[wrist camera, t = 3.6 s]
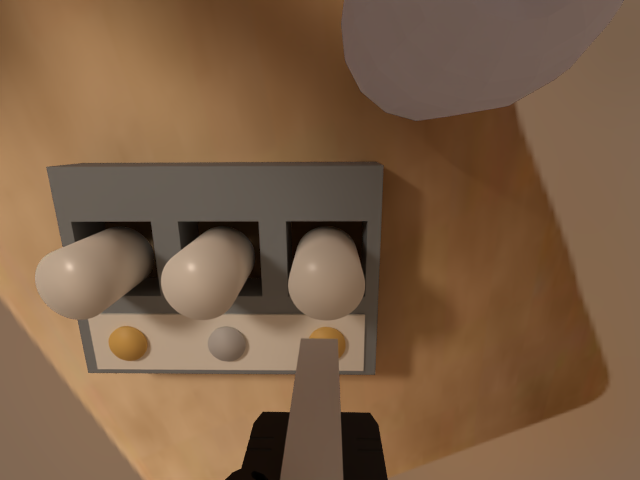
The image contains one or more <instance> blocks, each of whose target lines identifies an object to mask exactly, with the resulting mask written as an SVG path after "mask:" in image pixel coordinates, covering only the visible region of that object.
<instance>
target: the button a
mask: <svg viewBox="0 0 640 480" xmlns="http://www.w3.org/2000/svg"><path fill="white" fill-rule="evenodd" d="M153 266H154V253H153V249H152V247H151V245H150V243H149V242H148V240H147V239H146V238H145V237H144V236H143V235H142V234H140V233H139V232H137V231H136V230H134V229H131V228H128V227H123V226H116V227H111V228H108V229H106V230H103V231H101V232H99V233H96V234H94V235H91V236H89V237H87V238H84V239H82V240H79V241H77V242H75V243H72V244H70V245H67V246H65V247H63V248H60V249H58V250H55V251H53V252H51V253H49V254H47V255H46V256H45V257H44V258H43V259H42V260H41V261H40V262H39V264H38V266H37V269H36V273H35V283H36V287H37V290H38V293H39V295H40V296H41V298H42V300H43V301H44V302H45V303H46V304H47V306H48V307H50V308H51V309H52V310H53V311H55V312H56V313H58V314H60V315H62V316H64V317H67V318H70V319H76V320H85V319H90V318H93V317H95V316H97V315H99V314H100V313H102V312H103V311H104V310H106V309H107V308H108V307H109V306H111V305H112V304H113V303H115V302H116V301H117V300H118V299H120V298H121V297H122V296H124V295H125V294H126V293H127V292H129V291H130V290H131V289H133V288H134V287H135V286H136V285H138V284H139V283H140V282H142V281H143V280H144V279H145V278H147V277H148V276H149V274H150V273H151V271H152V269H153Z"/></svg>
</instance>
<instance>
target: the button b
mask: <svg viewBox="0 0 640 480" xmlns="http://www.w3.org/2000/svg"><path fill="white" fill-rule="evenodd" d="M254 264H255V251H254V248H253V245H252V243H251V242H250V240H249V239H248V238H247V236H246V235H244V234H243V233H242V232H240V231H239V230H237V229H235V228H232V227H227V226H218V227H214V228H211V229H209V230H207V231H205V232H204V233H203V234H201V235H200V236H199V237H198V238H196V239H195V240H194V241H192V242H191V243H190V244H188V245H187V246H186V247H185V248H183V249H182V250H181V251H179V252H178V253H177V254H176V255H174V256H173V257H172V258H171V259H170V260H169V261H168V262H167V263H166V265H165V267H164V269H163V271H162V275H161V287H162V291H163V294H164V296H165V298H166V300H167V301H168V303H169V304H170V305H171V307H172V308H174V309H175V310H176V311H177V312H179V313H180V314H182V315H184V316H186V317H188V318H191V319H196V320H210V319H214V318H217V317H219V316H221V315H223V314H224V313H225V312H227V311H228V310H229V309H230V308H231V306H232V305H233V303H234V301H235V300H236V298H237V296H238V294H239V292H240V291H241V289H242V287H243V285H244V284H245V282H246V280H247V278H248V276H249V275H250V273H251V271H252V269H253V267H254Z"/></svg>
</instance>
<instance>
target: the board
mask: <svg viewBox="0 0 640 480" xmlns="http://www.w3.org/2000/svg"><path fill="white" fill-rule="evenodd" d="M383 167H384V165H382V164H380V163H378V162H220V163H79V164H70V165H60V166H50V167H46V168H47V172H48V177H49V182H50V187H51V192H52V197H53V202H54V207H55V212H56V217H57V221H58V226H59V231H60V236H61V241H62V246H63V247H65V246H67V245H70V244H72V243H75V242H77V241H79V240H82V239H84V238H87V237H89V236H91V235H94V234H96V233H99V232H101V231H103V230H106V228H105V222H138V221H151V226H152V234H153V241H154V249H155V256H156V264H157V271H158V277H147V278H145V279H144V280H143V281H142V282H140V283H139V284H138V285H136V286H135V287H134V288H133V289H131V290H130V291H129V292H127V293H126V294H125V295H124V296H122V297H121V298H120V299H118V300H117V301H116V302H115V303H113V304H112V305H111V306H109V307H108V308H107V309H106V310H104V311H103V312H102V313H100V314H99V315H97V316H95V317H93V318H90V319H85V320H78V324H79V329H80V334H81V339H82V344H83V349H84V354H85V359H86V363H87V368H88V373H187V374H296V368H297V361H298V354H299V347H300V341H301V338H316V339H338V358H339V374H347V375H375V366H376V341H377V316H378V291H379V266H380V242H381V217H382V192H383ZM197 221H259V238H260V257H261V276H262V278H247V280H246V282H245V284H244V285H243V287H242V289H241V291H240V292H239V294H238V296H237V298H236V300H235V301H234V303H233V305H232V306H231V308H230V309H229V310H228V311H227V312H225V313H224V314H223V315H221V316H219V317H217V318H214V319H210V320H196V319H191V318H188V317H186V316H184V315H182V314H180V313H179V312H177V311H176V310H175V309H174V308H172V307H171V305H170V304H169V303H168V301H167V300H166V298H165V296H164V294H163V291H162V287H161V275H162V271H163V269H164V267H165V265H166V263H167V262H168V261H169V260H170V259H171V258H172V257H173V256H174V255H176V254H177V253H178V252H179V251H181V250H182V249H183V248H185V247H186V246H187V245H188V244H190V243H191V242H192V241H194V240H195V239H196V238H198V237H199V233H198V223H197ZM291 221H362V249H361V267H362V271H363V274H364V279H365V291H364V295H363V298H362V300H361V302H360V304H359V305H358V306H357V307H356V309H355V310H354V311H352V312H351V313H350V314H348V315H346V316H345V317H342V318H340V319H336V320H329V321H325V320H317V319H314V318H311V317H309V316H307V315H305V314H304V313H302V312H301V311H300V310H299V309H298V308H297V307H296V306H295V304H294V303H293V301H292V299H291V297H290V294H289V289H288V280H289V275H290V272H291V268H292V232H291Z"/></svg>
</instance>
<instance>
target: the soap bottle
mask: <svg viewBox="0 0 640 480" xmlns="http://www.w3.org/2000/svg"><path fill="white" fill-rule="evenodd" d="M623 1H624V0H344V5H343V13H342V21H341V28H342V37H343V47H344V56H345V62H346V64H347V66H348V68H349V70H350V72H351V74H352V76H353V77H354V79H355V81H356V83H357V85H358V87H359V89H360V91H361V92H362V93H363V94H364V95H365V96H367V97H368V98H369V99H370V100H371V101H373V102H374V103H375V104H376V105H377V106H379V107H380V108H381V109H382V110H383V111H385V112H386V113H389V114H393V115H397V116H400V117H404V118H407V119H411V120H414V121H420V120H427V119H434V118H442V117H449V116H454V115H460V114H466V113H472V112H477V111H483V110H489V109H495V108H500V107H506V106H509V105H511V104H513V103H514V102H516V101H518V100H520V99H522V98H523V97H525V96H527V95H529V94H530V93H532V92H534V91H536V90H537V89H539V88H541V87H542V86H544V85H546V84H548V83H550V82H551V81H553V80H555V79H556V78H557V77H559V76H560V75H561V74H563V73H564V72H565V71H567V70H568V69H569V68H570V67H571V66H572V65H573V64H574V63H575V62H576V61H577V59H578V58H579V57H580V56H581V55H582V54H583V53H584V51H585V50H586V49H587V48H588V47H589V46H590V45H591V43H592V42H593V41H594V40H595V39H596V38H597V37H598V36H599V34H600V33H601V32H602V31H603V30H604V29H605V28H606V26H607V25H608V24H609V23H610V21H611V20H612V18H613V17H614V15H615V14H616V13H617V11H618V10H619V8H620V7H621V5H622V3H623Z"/></svg>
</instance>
